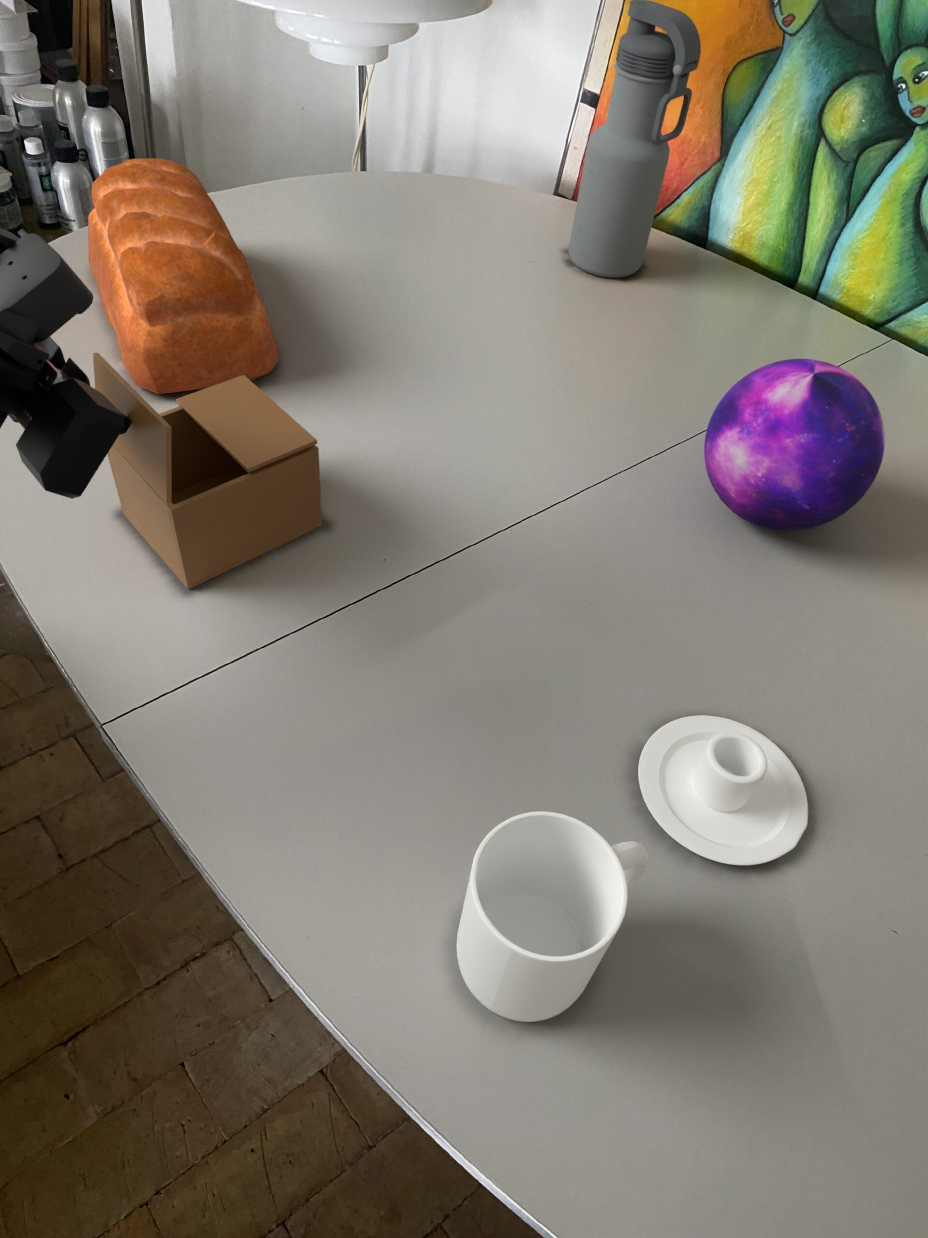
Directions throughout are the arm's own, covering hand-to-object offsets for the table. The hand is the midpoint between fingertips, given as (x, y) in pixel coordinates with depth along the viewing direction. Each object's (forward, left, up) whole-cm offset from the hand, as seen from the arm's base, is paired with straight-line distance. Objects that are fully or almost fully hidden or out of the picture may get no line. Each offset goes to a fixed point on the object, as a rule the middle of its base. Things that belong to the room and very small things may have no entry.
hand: (126, 425), depth 63 cm
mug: (+28, -34, -13) cm, 46 cm away
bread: (-3, +37, -13) cm, 40 cm away
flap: (+1, 0, 0) cm, 1 cm away
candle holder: (+42, -24, -13) cm, 50 cm away
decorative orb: (+55, +6, -13) cm, 57 cm away
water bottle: (+49, +54, -13) cm, 74 cm away
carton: (+5, +4, -13) cm, 14 cm away
